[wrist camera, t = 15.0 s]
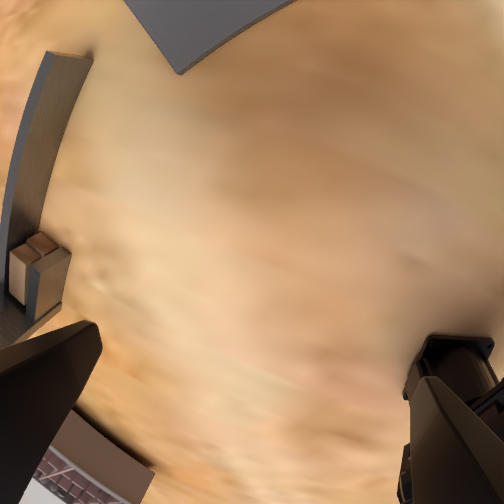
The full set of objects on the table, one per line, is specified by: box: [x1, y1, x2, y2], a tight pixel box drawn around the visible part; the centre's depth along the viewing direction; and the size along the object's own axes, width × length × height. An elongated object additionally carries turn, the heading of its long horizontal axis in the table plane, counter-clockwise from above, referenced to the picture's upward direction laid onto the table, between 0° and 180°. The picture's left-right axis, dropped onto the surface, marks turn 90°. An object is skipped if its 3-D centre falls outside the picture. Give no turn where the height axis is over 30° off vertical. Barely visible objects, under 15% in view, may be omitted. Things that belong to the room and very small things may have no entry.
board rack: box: [0, 51, 93, 349], centre depth 17 cm, size 6×22×12 cm, turn 149°
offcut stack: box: [9, 232, 58, 305], centre depth 24 cm, size 2×5×4 cm, turn 149°
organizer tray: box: [32, 409, 155, 504], centre depth 34 cm, size 32×40×10 cm
